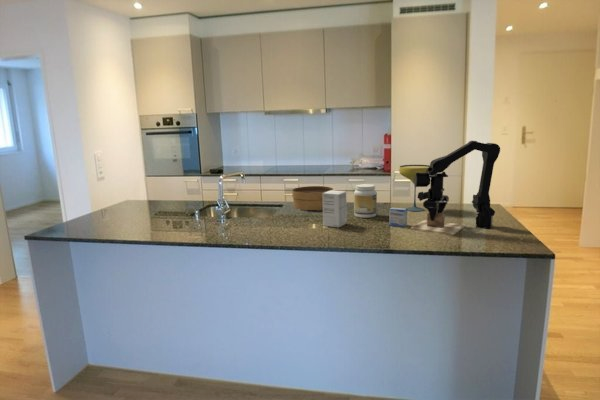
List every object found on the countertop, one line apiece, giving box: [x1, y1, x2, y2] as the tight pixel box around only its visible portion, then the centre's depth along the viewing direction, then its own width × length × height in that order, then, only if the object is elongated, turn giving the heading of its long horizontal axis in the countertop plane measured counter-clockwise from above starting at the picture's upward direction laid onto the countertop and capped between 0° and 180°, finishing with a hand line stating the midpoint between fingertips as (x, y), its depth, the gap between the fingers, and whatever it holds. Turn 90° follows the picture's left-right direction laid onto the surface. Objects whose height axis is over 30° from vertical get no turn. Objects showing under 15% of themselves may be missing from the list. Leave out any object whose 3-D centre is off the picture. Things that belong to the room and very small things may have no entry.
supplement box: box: [322, 189, 348, 228], centre depth 212 cm, size 10×9×17 cm
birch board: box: [410, 219, 466, 236], centre depth 202 cm, size 20×18×1 cm
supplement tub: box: [353, 183, 378, 219], centre depth 230 cm, size 12×12×17 cm
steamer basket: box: [291, 185, 334, 211], centre depth 259 cm, size 25×25×11 cm
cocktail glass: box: [398, 164, 430, 213], centre depth 241 cm, size 18×18×25 cm
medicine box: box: [388, 207, 408, 228], centre depth 208 cm, size 8×4×9 cm, turn 62°
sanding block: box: [426, 212, 446, 228], centre depth 202 cm, size 7×4×6 cm, turn 53°
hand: (435, 218), depth 201 cm, fingers open, 9 cm apart
